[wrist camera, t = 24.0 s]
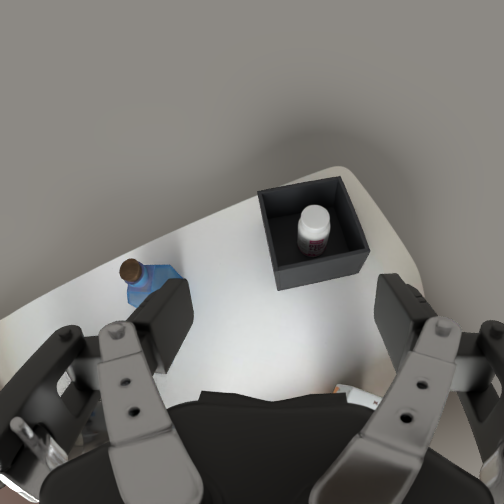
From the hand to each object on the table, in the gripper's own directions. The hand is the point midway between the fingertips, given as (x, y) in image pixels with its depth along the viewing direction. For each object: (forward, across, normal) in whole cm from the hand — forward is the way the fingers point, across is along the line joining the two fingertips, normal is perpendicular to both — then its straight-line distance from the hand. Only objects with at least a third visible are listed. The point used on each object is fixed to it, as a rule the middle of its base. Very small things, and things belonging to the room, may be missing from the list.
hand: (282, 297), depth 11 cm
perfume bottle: (+28, +20, +16) cm, 38 cm away
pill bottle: (+34, -4, +9) cm, 35 cm away
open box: (+34, -3, +9) cm, 35 cm away
